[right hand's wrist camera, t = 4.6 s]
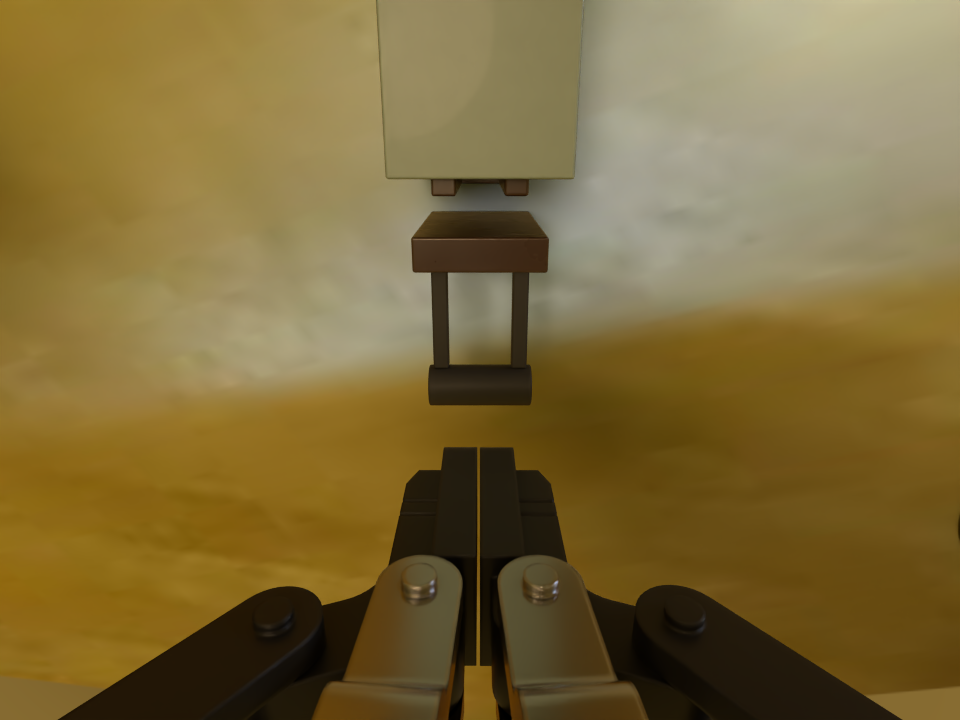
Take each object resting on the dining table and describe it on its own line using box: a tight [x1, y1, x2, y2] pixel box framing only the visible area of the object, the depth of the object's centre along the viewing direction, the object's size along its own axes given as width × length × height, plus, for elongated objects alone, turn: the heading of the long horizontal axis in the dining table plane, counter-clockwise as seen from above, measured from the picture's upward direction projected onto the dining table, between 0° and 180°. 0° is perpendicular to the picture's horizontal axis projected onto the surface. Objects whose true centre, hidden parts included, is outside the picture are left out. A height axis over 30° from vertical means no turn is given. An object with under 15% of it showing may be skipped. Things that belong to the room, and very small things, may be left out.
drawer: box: [411, 179, 549, 405], centre depth 21 cm, size 26×5×8 cm, turn 0°
